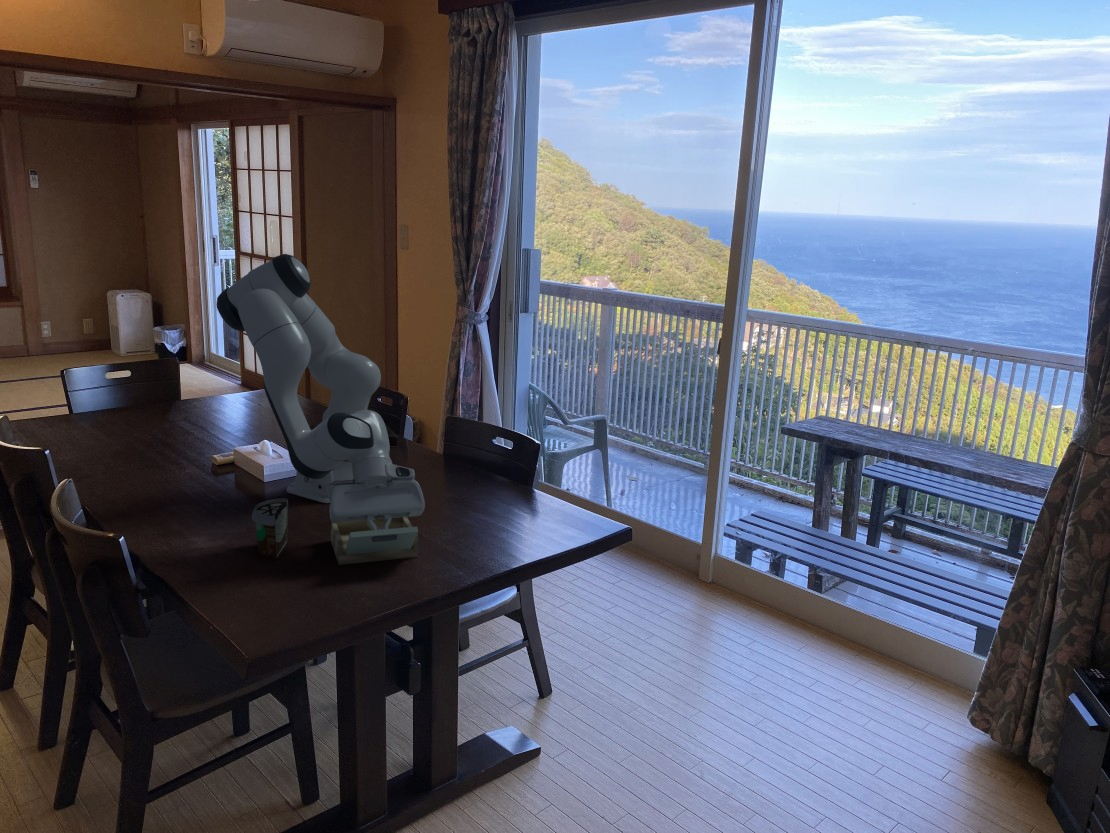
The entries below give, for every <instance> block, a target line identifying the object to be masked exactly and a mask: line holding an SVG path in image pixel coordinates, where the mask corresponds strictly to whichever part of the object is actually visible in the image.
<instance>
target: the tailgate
mask: <svg viewBox="0 0 1110 833" xmlns="http://www.w3.org/2000/svg"><path fill="white" fill-rule="evenodd" d="M418 533H419V528H418V526H413V527H407V528H395V529H383V530H371V531H359V532H350V535H349V539H348V543H347V547H346V555H350V554H361V553H371V552H382V551H393V550H403V549H411V548H412V545H413V543H414V541H415V538H416V536H417V535H418Z"/></svg>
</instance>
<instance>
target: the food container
mask: <svg viewBox="0 0 1110 833" xmlns="http://www.w3.org/2000/svg"><path fill="white" fill-rule="evenodd" d="M253 508H254V509H253V510H252V514H251V520H252V521H253V522H254V523H255V531H256V539H257V540H256V541H257V551H258V553H259V554H260V555H261V556H263V557H266V558H271V559H272V558H273V559H277V558H278V557H279V556H280V553H281V552H282V550H283V549H284V547H285V546H286V544H287V543H288V508H289V501H288V498H274V499H269V500H265V501H262V502H260V503H257V504H256V505H255V507H253Z"/></svg>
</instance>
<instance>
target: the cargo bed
mask: <svg viewBox="0 0 1110 833" xmlns="http://www.w3.org/2000/svg"><path fill="white" fill-rule="evenodd" d="M374 524H375V525H376V526H377V527H385V525H386V523H384V519H374ZM407 527H414V526H413V524H412V523H411V521H410V520H409V518H408V517H398V518H392V519H391V522H390V524H389V527H388V529H395V528H407ZM359 531H371V529H370V527H369V526H368V525H367V521H366V520H360V521H348V522H333V521H332V520H331V519H330V542H331V546H332V548H333V551H334V555H335V558H336V561H337V564H338V565H339V566H340V565H348V564H349V565H350V564H361V563H369V562H380V561H390V560H399V559H411V558H418V557H419V535H418V534H417V536H416V538H415V541H414V543H413V545H412V548H411V549H403V550H393V551H382V552H371V553H361V554H350V555H346V547H347V543H348V539H349V535H350V532H359Z"/></svg>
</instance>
